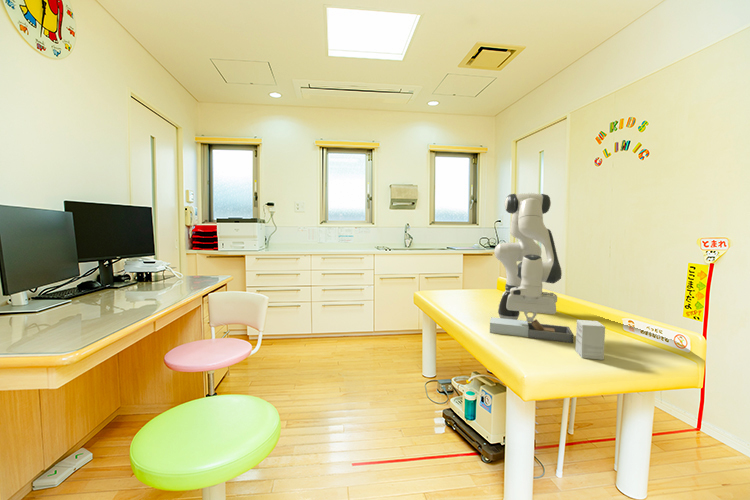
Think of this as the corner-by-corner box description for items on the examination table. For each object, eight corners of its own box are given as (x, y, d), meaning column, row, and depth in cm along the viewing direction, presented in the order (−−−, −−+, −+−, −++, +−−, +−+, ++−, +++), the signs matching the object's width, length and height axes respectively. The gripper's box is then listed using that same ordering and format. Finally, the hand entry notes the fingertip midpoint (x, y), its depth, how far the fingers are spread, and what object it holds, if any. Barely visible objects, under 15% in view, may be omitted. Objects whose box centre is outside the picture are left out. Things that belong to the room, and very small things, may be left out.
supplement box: (596, 353, 126) (598, 320, 125) (603, 360, 119) (605, 326, 118) (574, 350, 128) (576, 319, 127) (580, 358, 121) (582, 324, 120)
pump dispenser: (515, 318, 174) (516, 289, 172) (522, 323, 163) (523, 293, 162) (495, 317, 175) (496, 289, 173) (501, 323, 164) (502, 293, 163)
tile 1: (531, 322, 149) (535, 318, 148) (538, 330, 148) (543, 326, 147) (531, 324, 145) (536, 321, 144) (539, 333, 144) (544, 329, 143)
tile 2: (553, 328, 146) (553, 333, 146) (542, 327, 148) (542, 332, 148) (555, 331, 142) (554, 337, 142) (543, 330, 144) (543, 335, 144)
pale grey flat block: (490, 326, 159) (490, 317, 159) (526, 330, 153) (527, 320, 153) (489, 332, 150) (489, 322, 149) (528, 337, 144) (528, 326, 143)
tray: (526, 329, 154) (527, 322, 154) (568, 334, 147) (568, 326, 147) (528, 337, 143) (528, 329, 142) (573, 343, 136) (573, 334, 136)
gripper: (556, 291, 146) (555, 322, 146) (506, 288, 153) (506, 317, 154) (558, 294, 140) (557, 326, 141) (506, 290, 147) (505, 320, 148)
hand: (529, 321), depth 148 cm, fingers closed
